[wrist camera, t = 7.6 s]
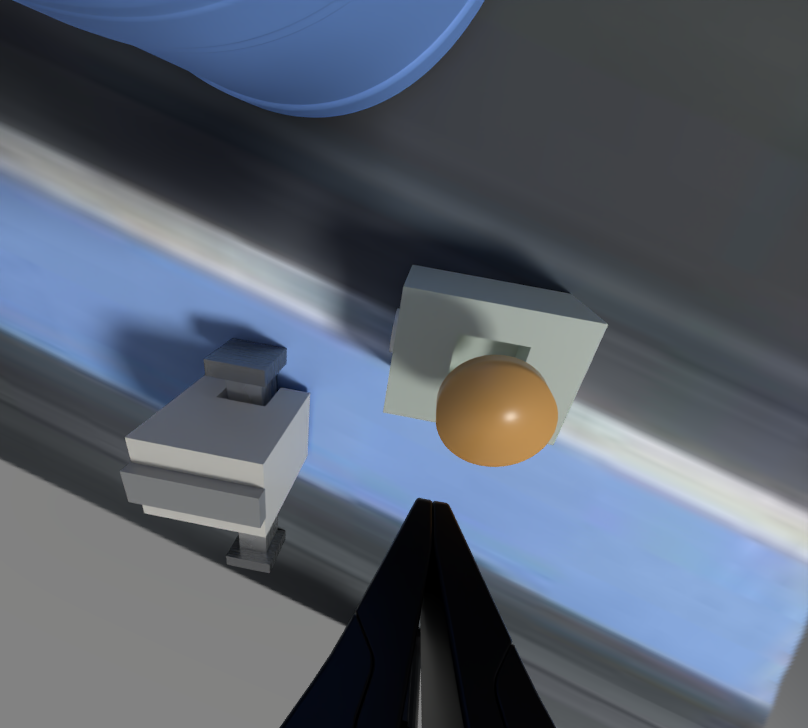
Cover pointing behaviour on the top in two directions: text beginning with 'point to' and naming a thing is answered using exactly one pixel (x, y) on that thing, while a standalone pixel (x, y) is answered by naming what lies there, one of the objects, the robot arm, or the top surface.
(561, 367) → the cabinet
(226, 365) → the rail
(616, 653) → the top surface
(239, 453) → the carriage
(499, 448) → the button
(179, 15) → the water jug
